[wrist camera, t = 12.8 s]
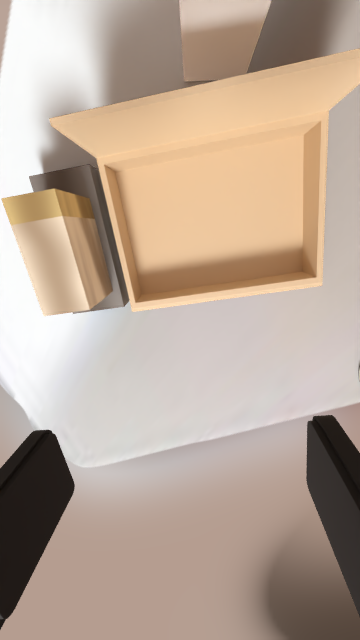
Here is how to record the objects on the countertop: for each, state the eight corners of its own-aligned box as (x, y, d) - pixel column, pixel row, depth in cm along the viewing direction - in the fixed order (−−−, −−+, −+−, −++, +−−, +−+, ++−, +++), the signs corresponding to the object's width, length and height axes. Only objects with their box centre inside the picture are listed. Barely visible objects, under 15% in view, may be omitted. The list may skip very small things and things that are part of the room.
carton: (308, 123, 25) (402, 38, 14) (306, 278, 31) (372, 308, 19) (108, 163, 27) (49, 118, 16) (139, 302, 33) (111, 341, 21)
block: (89, 198, 26) (54, 188, 19) (112, 291, 29) (89, 309, 23) (49, 205, 26) (1, 198, 20) (76, 296, 30) (43, 316, 23)
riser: (99, 170, 28) (89, 164, 25) (130, 299, 33) (124, 306, 30) (45, 181, 28) (28, 176, 25) (83, 306, 33) (73, 313, 30)
